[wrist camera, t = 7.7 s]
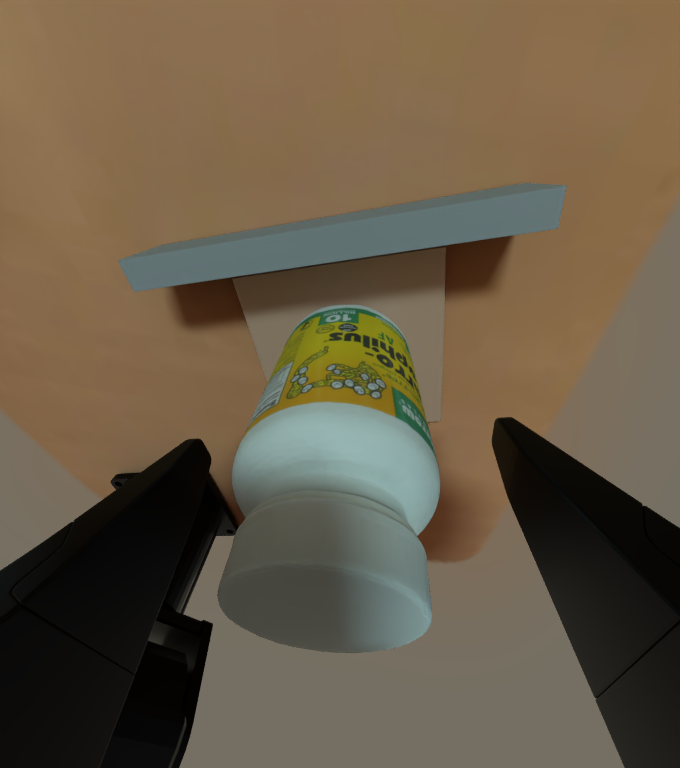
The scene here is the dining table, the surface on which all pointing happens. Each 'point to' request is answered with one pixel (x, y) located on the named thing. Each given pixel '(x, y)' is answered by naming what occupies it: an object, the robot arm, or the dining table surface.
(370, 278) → the mat
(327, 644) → the supplement bottle
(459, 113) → the dining table surface
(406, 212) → the low wall
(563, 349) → the dining table surface
